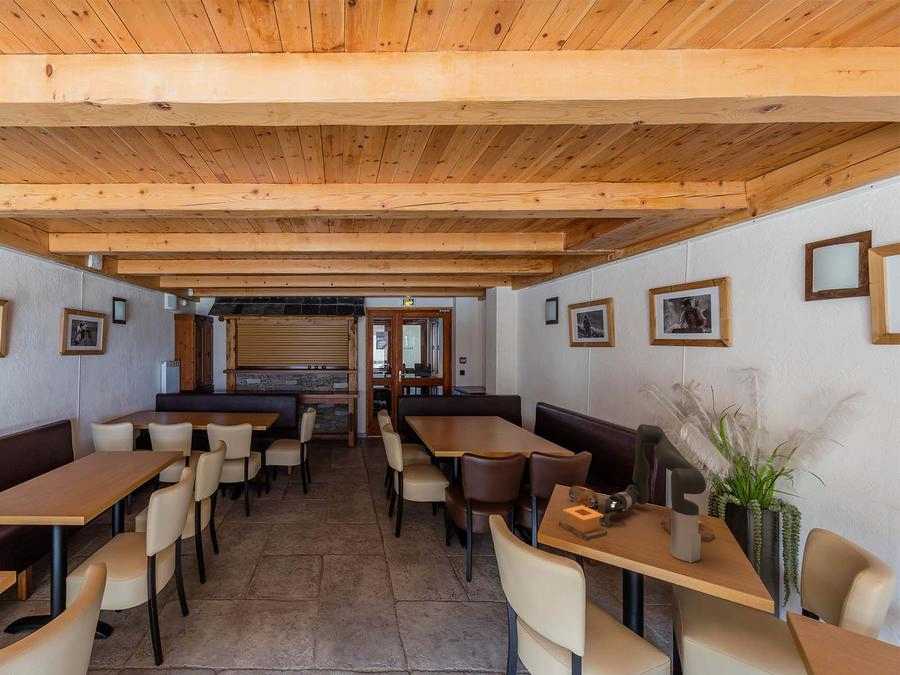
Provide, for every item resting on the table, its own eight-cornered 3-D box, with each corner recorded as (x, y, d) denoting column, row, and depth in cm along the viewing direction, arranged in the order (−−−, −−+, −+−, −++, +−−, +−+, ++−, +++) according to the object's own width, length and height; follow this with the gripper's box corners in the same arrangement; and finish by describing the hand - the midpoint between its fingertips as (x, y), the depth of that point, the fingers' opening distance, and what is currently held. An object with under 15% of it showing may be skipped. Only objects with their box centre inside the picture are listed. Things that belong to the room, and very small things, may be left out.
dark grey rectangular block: (609, 524, 192) (609, 497, 192) (604, 526, 189) (605, 499, 189) (601, 521, 194) (602, 495, 195) (597, 523, 192) (598, 496, 192)
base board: (607, 534, 181) (607, 530, 182) (587, 540, 175) (587, 536, 176) (578, 520, 195) (578, 516, 195) (558, 525, 189) (559, 521, 189)
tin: (568, 500, 220) (568, 484, 220) (571, 499, 222) (572, 482, 222) (594, 510, 208) (595, 492, 208) (598, 508, 210) (598, 491, 210)
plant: (720, 546, 175) (720, 518, 175) (667, 537, 181) (667, 511, 181) (707, 526, 194) (708, 501, 194) (660, 519, 200) (660, 495, 200)
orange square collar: (603, 529, 183) (603, 514, 183) (583, 534, 177) (583, 519, 177) (581, 518, 194) (582, 505, 194) (562, 523, 188) (562, 509, 188)
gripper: (606, 489, 207) (586, 496, 196) (635, 498, 196) (615, 506, 185) (605, 504, 207) (585, 513, 196) (634, 514, 196) (615, 523, 185)
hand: (600, 509), depth 190 cm, fingers open, 4 cm apart
